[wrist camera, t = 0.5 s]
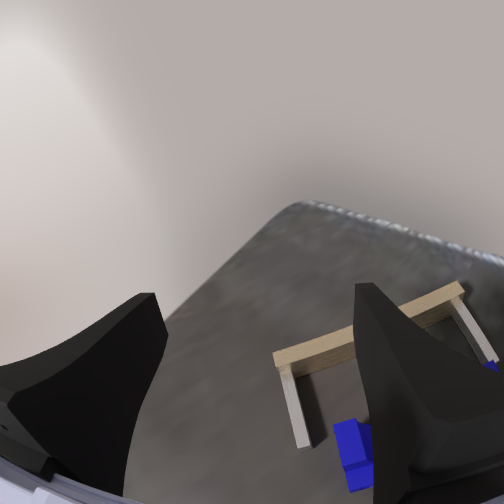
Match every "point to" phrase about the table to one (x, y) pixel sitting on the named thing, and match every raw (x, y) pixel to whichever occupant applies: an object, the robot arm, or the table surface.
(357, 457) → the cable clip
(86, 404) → the robot arm
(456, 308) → the frame
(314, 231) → the table surface
